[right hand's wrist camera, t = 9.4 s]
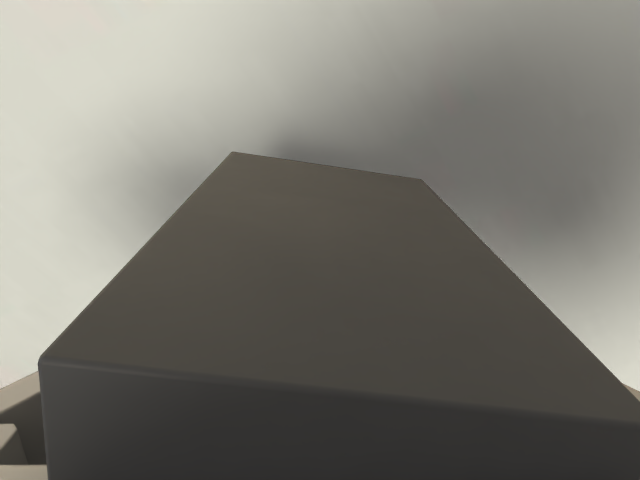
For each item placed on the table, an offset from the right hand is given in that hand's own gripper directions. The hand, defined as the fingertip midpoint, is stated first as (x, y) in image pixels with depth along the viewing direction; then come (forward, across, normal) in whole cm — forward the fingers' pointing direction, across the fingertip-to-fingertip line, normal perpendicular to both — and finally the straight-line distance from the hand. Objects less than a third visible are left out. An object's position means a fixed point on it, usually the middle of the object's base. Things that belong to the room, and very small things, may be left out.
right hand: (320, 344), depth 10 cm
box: (+6, -2, -11) cm, 12 cm away
